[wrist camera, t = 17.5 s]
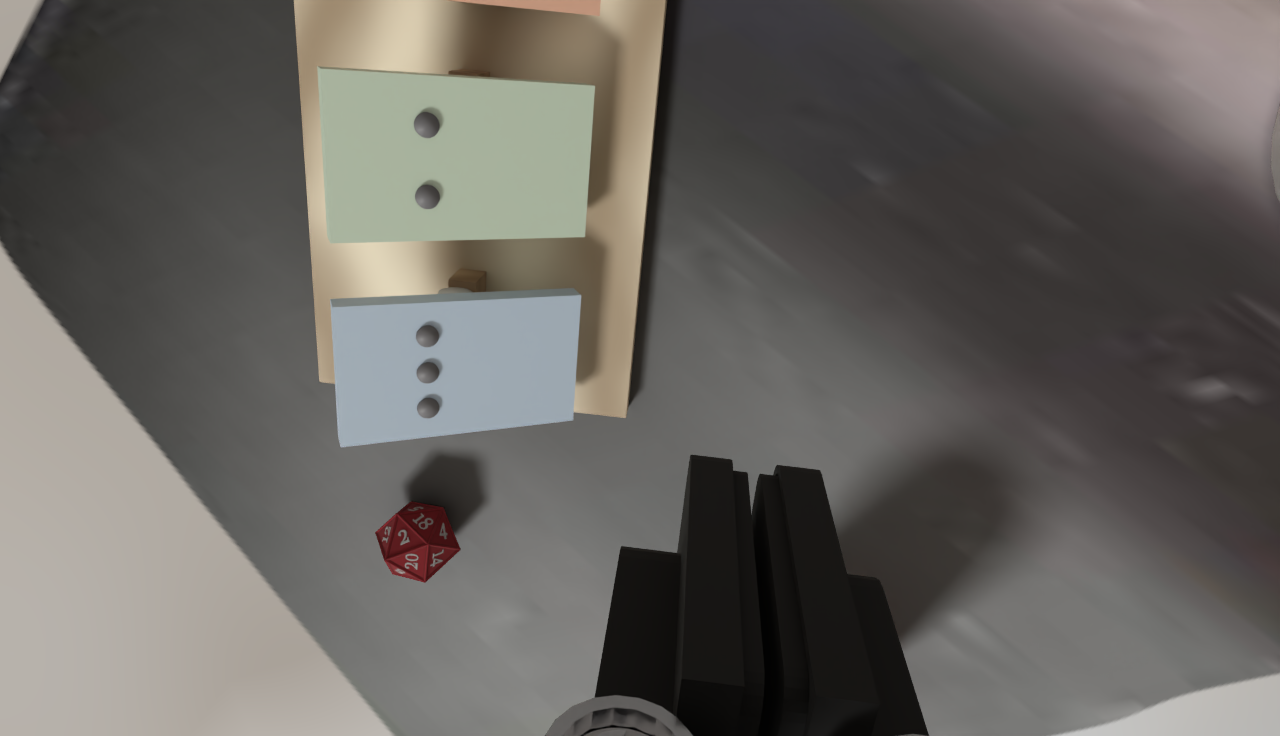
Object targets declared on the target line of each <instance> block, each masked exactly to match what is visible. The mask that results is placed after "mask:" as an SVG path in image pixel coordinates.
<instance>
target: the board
mask: <svg viewBox="0 0 1280 736" xmlns="http://www.w3.org/2000/svg"><path fill="white" fill-rule="evenodd" d="M666 7H667V0H601V3H600V16H594V15H584V14H574V13H564V12H554V11H545V10H535V9H525V8H516V7H506V6H496V5H486V4H477V3H467V2H457V1H448V0H294V8H295V23H296V38H297V52H298V67H299V82H300V97H301V112H302V127H303V142H304V157H305V172H306V187H307V201H308V216H309V231H310V246H311V261H312V276H313V291H314V306H315V321H316V336H317V350H318V365H319V380H320V382H325V383H333V384H335V373H334V356H333V339H332V322H331V305H330V299H339V298H361V297H383V296H405V295H428V294H438V291H439V290H441V289H443V288H449V287H459V288H465V289H468V290H471V291H472V292H495V291H517V290H539V289H561V288H574V289H575V290H576V291H577V292H578V293H579V294H581V307H580V322H579V337H578V352H577V367H576V382H575V397H574V412H579V413H587V414H596V415H604V416H613V417H621V418H626V415H627V411H628V404H629V394H630V384H631V373H632V363H633V352H634V342H635V331H636V321H637V310H638V300H639V289H640V279H641V269H642V258H643V248H644V237H645V227H646V216H647V206H648V195H649V185H650V174H651V164H652V154H653V143H654V133H655V122H656V112H657V101H658V91H659V80H660V70H661V59H662V49H663V39H664V28H665V18H666ZM317 66H323V67H338V68H354V69H370V70H385V71H401V72H417V73H433V74H448V75H464V76H480V77H496V78H511V79H527V80H543V81H559V82H574V83H586V84H590V85H594V86H595V94H594V109H593V124H592V139H591V154H590V169H589V184H588V199H587V214H586V229H585V237H569V238H529V239H488V240H448V241H407V242H367V243H330V241H329V239H328V237H327V224H326V207H325V190H324V173H323V156H322V139H321V122H320V105H319V88H318V71H317Z"/></svg>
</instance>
